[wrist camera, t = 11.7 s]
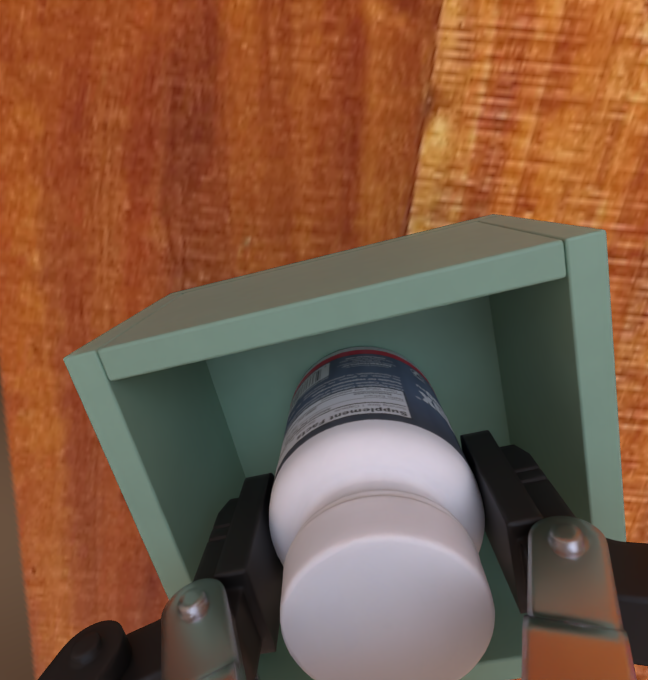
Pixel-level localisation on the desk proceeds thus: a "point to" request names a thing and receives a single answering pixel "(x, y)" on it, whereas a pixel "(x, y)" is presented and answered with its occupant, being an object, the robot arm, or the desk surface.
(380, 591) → the pill bottle
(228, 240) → the desk surface
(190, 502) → the bin
